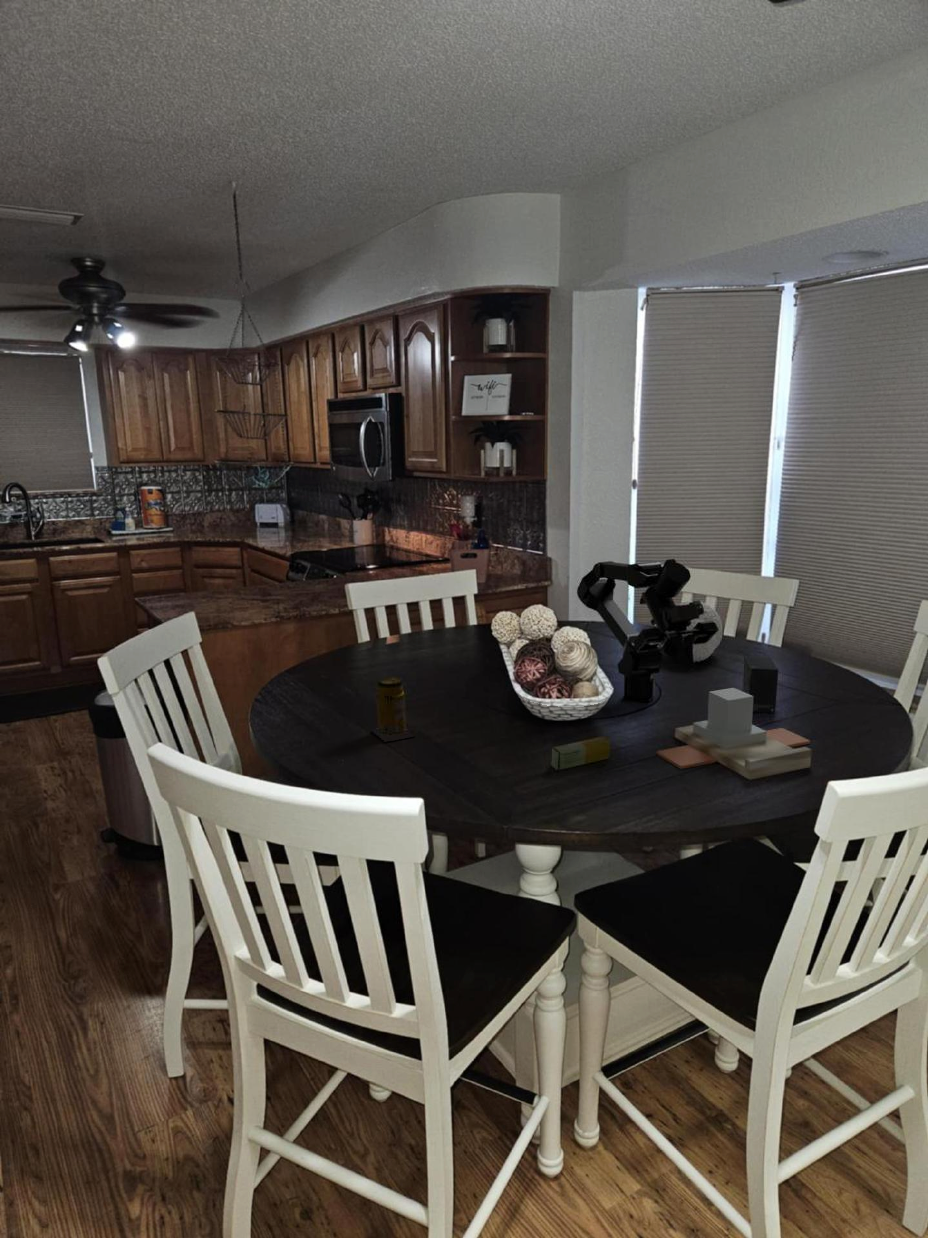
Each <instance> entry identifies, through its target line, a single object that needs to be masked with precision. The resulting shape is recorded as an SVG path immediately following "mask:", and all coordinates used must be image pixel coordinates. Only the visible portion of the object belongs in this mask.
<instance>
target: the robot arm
mask: <svg viewBox="0 0 928 1238" xmlns="http://www.w3.org/2000/svg"><path fill="white" fill-rule="evenodd" d="M591 569H592V570H590V571H589V572H588V573H587V574H586V575H584V576H583V577H582V578H581V581H580V582H579V584H578V587H577V589H576V594H577V597H578V599H579V601H580V602H581V603H582V604H583V606H585V607H586V608H588V609H590V610H593V611H595V612H597V614H598V615H599V616H600V618H601V619H602V620H603V622H604V623H605V624H606V625H607V627H608V629H609V630H610V631H611V632H612V634H613V636H614V637H615V638H616V640H617V641H618V642H619V644H620V645H621V646H622V658H621V659H620V660H619V661H618V663H617V670H618V674H621V675H623V676H624V677H623V681H624V682H623V684H624V685H623V687H624V688H623V696H622V698H621V699H622V700H623V701H631V702H632V701H633V702H639V703H640V702H641V703H642V702H643V703H650V702H651V700H652V699H653V698H654V697H655V696H656V679H655V678H654V674H659V673H660V671H661V668H662V667H661V666H662V663H663V661H664V660H663V659H664V654H665V655H667V656H668V657H670V658H671V659H673V660H674V661H676V662H677V663H678V664H680V666H682V667H683V668H685V669H686V670H687V671H689V672H691V671H693V670H694V668H695V662H694V661H693V644H695V645H697V644H705V643H707V642H708V641H709V640H710V639H711V638H712V637H713V636H714V635H715V634H716V632H717V631H718V630H719V629H718V627H717V625H716V623H715V622H713V621H705V622H698V623H697V624H696V626H695V627H694V628H693V629H689V630H687V628H686V627H687V626H690V625H691V620H693V619H698V618H699V615H702V614H703V613H704V608H703V605H702V604H701V602H702V601H700V600H692V601H693V602H690V603H689V604H688V605H681V606H680V605H679V604H676V603H675V601H674V599H673V598H677V596H679V594H680V592H682V590H683V588H684V587H685V586H686V585H687V584H688V583H689V581H690V579H691V575H692V574H691V572H690V570H689V568H687V567H686V566H684V565H683V564H681V563H679V562H677V561H676V558H670V559H669V558H668V559H665V561H664V562H663V565H662V563H661V562H660V561H649V562H648V561H647V562H640V563H639V562H638V563H622V562H615V561H611V560H610V561H609V560H608V561H599V562H597V563H595V564H594V565H593V567H592V568H591ZM616 580H617V581H623V582H627V585H628V586H630V587H631V588H634V589H643V588H644V589H645V588H647V589H645V591H643V592H641V597H640V599H639V604H640V605H646V608H647V609H648V611H649V613H650V615H651V618H652V619H651V620H650V623H651V625H652V626H654V625H655V626H656V627H651V628H650V627H648V628H643V629H641V631H640V632H638V631H637V629H636V628H635V627H634V625H633V624H632V623H631V621H630V620H629V619H628V617H627V616H626V614H625V613H624V612H623V611H622V609H621V608H620V607H619V606H618V604H616V601H615V600H614V592H615V591H614V590H615V588H616V586H617V584H616ZM659 645H660V646H661V647H660V646H659ZM663 653H664V654H663Z"/></svg>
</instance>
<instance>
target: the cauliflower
mask: <svg viewBox="0 0 928 1238" xmlns="http://www.w3.org/2000/svg"><path fill="white" fill-rule="evenodd" d="M693 601H694V600H690V601H689V600H688V601H682V602H681V603H678V605H680V606H681V605H688V604H689V603H690V602H693ZM700 602H701V604H702V605H703V608H704V613H703V614H702V615H699V618H698V619H693V620H691V625H690V626H687V627H686V628H687V630H689V629H693V628H694V627H695V626H696V624H697V623H698V622H705V621H713V622H715V623H716V625H717V627H718V629H719V630H718V631H717V632H716V634H715V635H714V636H713V637H712V638H711V639H710V640H709V641H708V642H707V643H705V644H697V645H695V644H693V661H694V663H696V662H698V663H699V662H701V661H702V662H703V661H704V660H706V659H709V657H710V656H711V655H712V654H713V653H714V651H715V650H716V649H717V648H718V646H719V645H720V642H721V641H722V638H723V629H724V628H723V622H722V619H721V617H720V615H719V613H718V612H717V610H715V609H714V608H713V607H712V606H711V605H710V604H707V603H705V602H702V601H700Z"/></svg>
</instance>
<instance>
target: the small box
mask: <svg viewBox="0 0 928 1238" xmlns="http://www.w3.org/2000/svg"><path fill="white" fill-rule="evenodd" d="M742 672H743V675H742V686H741V687H742V688H741V689H742V690H741V691H742V692H745V693H747V694H749V695H752V696H753V713H769V714H774V713H776V708H777V705H776V704H777V693H778V682H779V681H778V680H779V668H778V666H777V665H776V664H775V662H774V661H773V658H772V657H768V656H767V657H765V656H753V655H752V656H749V655H745V656H743V671H742Z"/></svg>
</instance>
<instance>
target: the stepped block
mask: <svg viewBox="0 0 928 1238" xmlns="http://www.w3.org/2000/svg"><path fill="white" fill-rule="evenodd" d="M707 705H708V708H707V720H701V721H696V722H693V723H692V725H693V732H694V733H696V734H698V735H700V736H701V737H703V738H705V739H707V740H709V741H711V742H713V743H714V744H716V745H718V746H720V747H722V748H724V749H727V748H732V747H737V746H742V745H748V744H753V743H758V742H763V741H766V735H767V730H764V729H762V728H760V727H758V726H756V725H754V724H753V713H754V712H753V696H752V695H749V694H747V693H745V692H742V690H740V689H737V688H735V687H731V688H730V687H729V688H725V689H724V688H723V689H718V690H711V691H708V704H707Z"/></svg>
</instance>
